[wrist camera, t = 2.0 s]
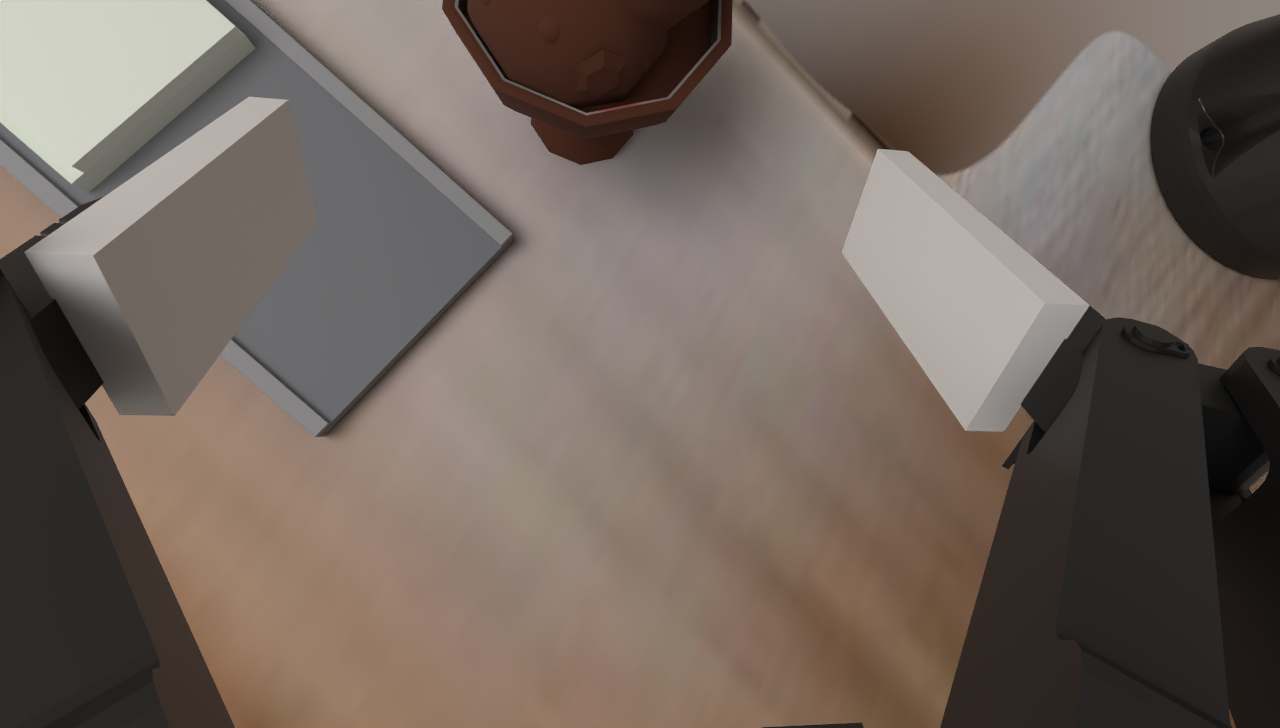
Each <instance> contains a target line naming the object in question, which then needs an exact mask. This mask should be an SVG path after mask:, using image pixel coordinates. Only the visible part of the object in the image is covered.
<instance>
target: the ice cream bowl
mask: <svg viewBox="0 0 1280 728" xmlns="http://www.w3.org/2000/svg"><path fill="white" fill-rule="evenodd" d="M442 9H443V11H444V13H445V14H446V16H447V18H448V19H449V21H450V23H451V25H452V26H453V28H454V30H455V31H456V33H457V34H458V36H459V38H460V39H461V41H462V42H463V44H464V45H465V47H466V48H467V50H468V51H469V53H470V54H471V56H472V57H473V59H474V60H475V62H476V63H477V65H478V66H479V68H480V69H481V71H482V72H483V74H484V75H485V77H486V79H487V80H488V82H489V83H490V85H491V86H492V88H493V89H494V91H495V92H496V94H497V95H498V97H499V98H500V100H501V101H502V103H503V104H504V105H505V106H507V107H509V108H511V109H513V110H514V111H517V112H519V113H521V114H524V115H526V116H529V117H531V125H532V126H533V128H534V129H535V131H536V132H537V134H538V135H539V137H540V138H541V140H542V141H543V143H544V144H545V146H546V147H547V149H548V150H549V152H551V153H554V154H556V155H559V156H561V157H563V158H566V159H568V160H571V161H573V162H575V163H578V164H580V165H581V164H586V163H591V162H595V161H600V160H605V159H610V158H613V157H614V156H615V154H616V153H617V152H618V151H619V150H620V149H621V148H622V146H623V145H624V144H625V143H626V142H627V141H628V139H629V138H630V137H631V136H632V135H633V129H638V128H643V127H648V126H653V125H656V124H660V123H663V122H666V120H667V119H668V118H669V117H670V116H671V115H672V113H673V112H674V111H675V110H676V109H677V108H678V106H679V105H680V104H681V103H682V102H683V101H684V99H685V98H686V97H687V96H688V95H689V94H690V93H691V91H692V90H693V89H694V88H695V87H696V86H697V84H698V83H699V82H700V81H701V80H702V79H703V77H704V76H705V75H706V74H707V73H708V72H709V70H710V69H711V68H712V67H713V66H714V65H715V63H716V62H717V61H718V60H719V59H720V58H721V56H722V55H723V54H724V53H725V52H726V50H727V49H728V48H729V47H730V46H731V34H732V0H443V5H442Z"/></svg>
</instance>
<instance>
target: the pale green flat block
mask: <svg viewBox="0 0 1280 728" xmlns="http://www.w3.org/2000/svg"><path fill="white" fill-rule="evenodd" d="M254 49H255V47H254V45H253V44H252V43H251V42H250V40H249V39H248V38H247V37H246V35H245V34H244V33H243V32H241V31H240V30H239V29H238V28H237V27H236V26H235V25H234V24H232V23H231V22H230V21H229V20H228V19H227V18H226V17H224V16H223V15H222V14H221V13H220V12H219V11H218V10H217V9H215V8H214V7H213V6H212V5H211V4H210V3H209V2H208V1H206V0H0V123H2V124H3V125H4V126H5V127H6V128H7V129H8V130H10V131H11V132H12V133H13V134H14V135H15V136H17V137H18V138H19V139H20V140H21V141H22V142H23V143H25V144H26V145H27V146H28V147H29V148H30V149H32V150H33V151H34V152H35V153H36V154H37V155H38V156H40V157H41V158H42V159H43V160H44V161H45V162H46V163H48V164H49V165H50V166H51V167H52V168H53V169H55V170H56V171H57V172H58V173H59V174H60V175H61V176H63V177H64V178H65V179H66V180H67V181H68V182H70V183H71V184H72V185H74V186H76V187H78V188H80V189H82V190H84V191H86V192H88V193H89V192H90V191H91V190H93V189H94V188H95V187H96V186H97V185H98V184H100V183H101V182H102V181H103V180H104V179H105V178H106V177H108V176H109V175H110V174H111V173H112V172H113V171H115V170H116V169H117V168H118V167H119V166H120V165H121V164H123V163H124V162H125V161H126V160H127V159H128V158H129V157H131V156H132V155H133V154H134V153H135V152H136V151H138V150H139V149H140V148H141V147H142V146H143V145H144V144H146V143H147V142H148V141H149V140H150V139H151V138H153V137H154V136H155V135H156V134H157V133H158V132H159V131H161V130H162V129H163V128H164V127H165V126H166V125H168V124H169V123H170V122H171V121H172V120H173V119H174V118H176V117H177V116H178V115H179V114H180V113H181V112H183V111H184V110H185V109H186V108H187V107H188V106H189V105H191V104H192V103H193V102H194V101H195V100H196V99H198V98H199V97H200V96H201V95H202V94H203V93H204V92H206V91H207V90H208V89H209V88H210V87H211V86H213V85H214V84H215V83H216V82H217V81H218V80H219V79H221V78H222V77H223V76H224V75H225V74H226V73H228V72H229V71H230V70H231V69H232V68H233V67H234V66H236V65H237V64H238V63H239V62H240V61H241V60H243V59H244V58H245V57H246V56H247V55H248V54H249V53H251V52H252V51H253V50H254Z"/></svg>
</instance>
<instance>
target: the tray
mask: <svg viewBox="0 0 1280 728" xmlns="http://www.w3.org/2000/svg"><path fill="white" fill-rule="evenodd" d="M206 1H208V2H209V3H210V4H211V5H212V6H213V7H214V8H215V9H217V10H218V11H219V12H220V13H221V14H222V15H223V16H224V17H226V18H227V19H228V20H229V21H230V22H231V23H232V24H234V25H235V26H236V27H237V28H238V29H239V30H240V31H241V32H243V33H244V34H245V35H246V37H247V38H248V39H249V40H250V42H251V43H252V44H253V45H254V47H255V49H254V50H253V51H252V52H251V53H249V54H248V55H247V56H246V57H245V58H244V59H243V60H241V61H240V62H239V63H238V64H237V65H236V66H234V67H233V68H232V69H231V70H230V71H229V72H228V73H226V74H225V75H224V76H223V77H222V78H221V79H219V80H218V81H217V82H216V83H215V84H214V85H213V86H211V87H210V88H209V89H208V90H207V91H206V92H204V93H203V94H202V95H201V96H200V97H199V98H198V99H196V100H195V101H194V102H193V103H192V104H191V105H189V106H188V107H187V108H186V109H185V110H184V111H183V112H181V113H180V114H179V115H178V116H177V117H176V118H174V119H173V120H172V121H171V122H170V123H169V124H168V125H166V126H165V127H164V128H163V129H162V130H161V131H159V132H158V133H157V134H156V135H155V136H154V137H153V138H151V139H150V140H149V141H148V142H147V143H146V144H144V145H143V146H142V147H141V148H140V149H139V150H138V151H136V152H135V153H134V154H133V155H132V156H131V157H129V158H128V159H127V160H126V161H125V162H124V163H123V164H121V165H120V166H119V167H118V168H117V169H116V170H115V171H113V172H112V173H111V174H110V175H109V176H108V177H106V178H105V179H104V180H103V181H102V182H101V183H100V184H98V185H97V186H96V187H95V188H94V189H93V190H91V191H90V192H89V193H88V192H86V191H84V190H82V189H80V188H78V187H76V186H74V185H72V184H71V183H70V182H68V181H67V180H66V179H65V178H64V177H63V176H61V175H60V174H59V173H58V172H57V171H56V170H55V169H53V168H52V167H51V166H50V165H49V164H48V163H46V162H45V161H44V160H43V159H42V158H41V157H40V156H38V155H37V154H36V153H35V152H34V151H33V150H32V149H30V148H29V147H28V146H27V145H26V144H25V143H23V142H22V141H21V140H20V139H19V138H18V137H17V136H15V135H14V134H13V133H12V132H11V131H10V130H8V129H7V128H6V127H5V126H4V125H3V124H2V123H0V165H1V166H2V167H3V168H4V169H6V170H7V171H8V172H9V173H10V174H11V175H12V176H14V177H15V178H16V179H17V180H18V181H19V182H21V183H22V184H23V185H24V186H25V187H26V188H27V189H29V190H30V191H31V192H32V193H33V194H34V195H36V196H37V197H38V198H39V199H40V200H41V201H43V202H44V203H45V204H46V205H47V206H48V207H49V208H51V209H52V210H53V211H54V212H55V213H56V214H58V215H59V216H60V217H61V218H62V217H64V216H65V215H67V214H68V213H70V212H71V211H73V210H74V209H76V208H77V207H79V206H80V205H82V204H85V203H88V202H90V201H93V200H96V199H98V198H101V197H104V196H106V195H107V194H109V193H110V192H112V191H113V190H115V189H116V188H118V187H119V186H120V185H122V184H123V183H125V182H126V181H128V180H129V179H131V178H132V177H133V176H135V175H136V174H138V173H139V172H141V171H142V170H144V169H145V168H146V167H148V166H149V165H151V164H152V163H154V162H155V161H157V160H158V159H159V158H161V157H162V156H164V155H165V154H167V153H168V152H170V151H171V150H173V149H174V148H175V147H177V146H178V145H180V144H181V143H183V142H184V141H186V140H187V139H188V138H190V137H191V136H193V135H194V134H196V133H197V132H199V131H200V130H201V129H203V128H204V127H206V126H207V125H209V124H210V123H212V122H213V121H214V120H216V119H217V118H219V117H220V116H222V115H223V114H225V113H226V112H228V111H229V110H230V109H232V108H233V107H235V106H236V105H238V104H239V103H241V102H242V101H243V100H245V99H246V98H248V97H260V98H272V99H284V100H289V104H290V108H291V113H292V117H293V121H294V125H295V129H296V133H297V137H298V142H299V146H300V150H301V154H302V158H303V162H304V166H305V170H306V175H307V179H308V183H309V187H310V191H311V195H312V199H313V204H314V208H315V212H316V216H317V220H318V222H317V223H316V225H315V226H314V227H313V229H312V230H311V231H310V233H309V234H308V235H307V237H306V238H305V240H304V241H303V242H302V244H301V245H300V246H299V248H298V249H297V250H296V252H295V253H294V254H293V256H292V257H291V259H290V260H289V261H288V263H287V264H286V265H285V267H284V268H283V269H282V271H281V272H280V273H279V275H278V276H277V278H276V279H275V280H274V282H273V283H272V284H271V286H270V287H269V288H268V290H267V291H266V292H265V294H264V295H263V297H262V298H261V299H260V301H259V302H258V303H257V305H256V306H255V307H254V309H253V310H252V311H251V313H250V314H249V316H248V317H247V318H246V320H245V321H244V322H243V324H242V325H241V326H240V328H239V329H238V330H237V332H236V333H235V335H234V336H233V337H232V339H231V340H230V341H229V343H228V344H227V345H226V347H225V348H224V349H223V351H222V352H221V354H220V355H221V356H222V357H223V358H224V359H225V360H226V361H228V362H229V363H230V364H231V365H232V366H233V367H235V368H236V369H237V370H238V371H239V372H240V373H241V374H243V375H244V376H245V377H246V378H247V379H248V380H250V381H251V382H252V383H253V384H254V385H255V386H257V387H258V388H259V389H260V390H261V391H262V392H263V393H265V394H266V395H267V396H268V397H269V398H270V399H272V400H273V401H274V402H275V403H276V404H277V405H279V406H280V407H281V408H282V409H283V410H284V411H285V412H287V413H288V414H289V415H290V416H291V417H292V418H294V419H295V420H296V421H297V422H298V423H299V424H300V425H302V426H303V427H304V428H305V429H306V430H307V431H309V432H310V433H311V434H312V435H313V436H314V437H322V436H325V435H326V434H327V433H328V432H329V431H330V430H331V429H332V428H333V427H334V426H335V425H336V424H337V422H338V421H339V420H340V419H341V418H342V417H343V416H344V415H345V414H346V413H347V412H348V411H349V410H350V409H351V408H352V407H353V406H354V405H355V404H356V403H357V402H358V401H359V400H360V399H361V398H362V397H363V396H364V395H365V394H366V393H367V392H368V390H369V389H370V388H371V387H372V386H373V385H374V384H375V383H376V382H377V381H378V380H379V379H380V378H381V377H382V376H383V375H384V374H385V373H386V372H387V371H388V370H389V369H390V368H391V367H392V366H393V365H394V364H395V363H396V362H397V361H398V360H399V358H400V357H401V356H402V355H403V354H404V353H405V352H406V351H407V350H408V349H409V348H410V347H411V346H412V345H413V344H414V343H415V342H416V341H417V340H418V339H419V338H420V337H421V336H422V335H423V334H424V333H425V332H426V331H427V330H428V329H429V328H430V327H431V325H432V324H433V323H434V322H435V321H436V320H437V319H438V318H439V317H440V316H441V315H442V314H443V313H444V312H445V311H446V310H447V309H448V308H449V307H450V306H451V305H452V304H453V303H454V302H455V301H456V300H457V299H458V298H459V297H460V296H461V295H462V293H463V292H464V291H465V290H466V289H467V288H468V287H469V286H470V285H471V284H472V283H473V282H474V281H475V280H476V279H477V278H478V277H479V276H480V275H481V274H482V273H483V272H484V271H485V270H486V269H487V268H488V267H489V266H490V265H491V264H492V263H493V262H494V260H495V259H496V258H497V257H498V256H499V255H500V254H501V253H502V252H503V251H504V250H505V249H506V248H507V247H508V246H509V245H510V244H511V243H512V242H513V241H514V239H513V234H512V233H511V232H510V231H509V230H508V229H507V228H506V227H504V226H503V225H502V224H501V223H500V222H499V221H498V220H497V219H495V218H494V217H493V216H492V215H491V214H490V213H489V212H488V211H486V210H485V209H484V208H483V207H482V206H481V205H480V204H479V203H477V202H476V201H475V200H474V199H473V198H472V197H471V196H470V195H468V194H467V193H466V192H465V191H464V190H463V189H462V188H461V187H459V186H458V185H457V184H456V183H455V182H454V181H453V180H452V179H450V178H449V177H448V176H447V175H446V174H445V173H444V172H443V171H441V170H440V169H439V168H438V167H437V166H436V165H435V164H434V163H432V162H431V161H430V160H429V159H428V158H427V157H426V156H425V155H423V154H422V153H421V152H420V151H419V150H418V149H417V148H416V147H414V146H413V145H412V144H411V143H410V142H409V141H408V140H407V139H405V138H404V137H403V136H402V135H401V134H400V133H399V132H398V131H396V130H395V129H394V128H393V127H392V126H391V125H390V124H389V123H387V122H386V121H385V120H384V119H383V118H382V117H381V116H380V115H378V114H377V113H376V112H375V111H374V110H373V109H372V108H371V107H369V106H368V105H367V104H366V103H365V102H364V101H363V100H362V99H360V98H359V97H358V96H357V95H356V94H355V93H354V92H353V91H351V90H350V89H349V88H348V87H347V86H346V85H345V84H344V83H342V82H341V81H340V80H339V79H338V78H337V77H336V76H335V75H333V74H332V73H331V72H330V71H329V70H328V69H327V68H326V67H324V66H323V65H322V64H321V63H320V62H319V61H318V60H317V59H315V58H314V57H313V56H312V55H311V54H310V53H309V52H308V51H306V50H305V49H304V48H303V47H302V46H301V45H300V44H299V43H297V42H296V41H295V40H294V39H293V38H292V37H291V36H290V35H288V34H287V33H286V32H285V31H284V30H283V29H282V28H281V27H279V26H278V25H277V24H276V23H275V22H274V21H273V20H272V19H270V18H269V17H268V16H267V15H266V14H265V13H264V12H263V11H261V10H260V9H259V8H258V7H257V6H256V5H255V4H254V3H252V2H251V1H250V0H206Z"/></svg>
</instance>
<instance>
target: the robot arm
mask: <svg viewBox="0 0 1280 728" xmlns="http://www.w3.org/2000/svg"><path fill="white" fill-rule="evenodd" d="M1151 150H1152V158H1153V164H1154V169H1155V173H1156V177H1157V180H1158V183H1159V186H1160V189H1161V191H1162V193H1163V196H1164V198H1165V200H1166V202H1167V204H1168V206H1169V208H1170V210H1171V211H1172V213H1173V215H1174V216H1175V218H1176V219H1177V221H1178V222H1179V224H1180V225H1181V226H1182V228H1183V229H1184V230H1185V231H1186V233H1187V234H1188V235H1189V236H1190V237H1191V238H1192V239H1193V240H1194V241H1195V242H1196V243H1197V244H1198V245H1199V246H1200V247H1201V248H1202V249H1203V250H1204V251H1206V252H1207V253H1208V254H1210V255H1211V256H1212V257H1213V258H1215V259H1217V260H1218V261H1220V262H1221V263H1223V264H1225V265H1226V266H1228V267H1230V268H1232V269H1235V270H1237V271H1239V272H1242V273H1245V274H1248V275H1251V276H1255V277H1260V278H1267V279H1280V14H1279V15H1276V16H1273V17H1269V18H1266V19H1263V20H1259V21H1256V22H1253V23H1250V24H1247V25H1245V26H1242V27H1240V28H1238V29H1235V30H1233V31H1231V32H1229V33H1228V34H1226V35H1224V36H1222V37H1221V38H1219V39H1217V40H1216V41H1214V42H1212V43H1210V44H1209V45H1207V46H1205V47H1204V48H1202V49H1200V50H1198V51H1197V52H1195V53H1193V54H1192V55H1190V56H1189V57H1188V58H1186V59H1185V60H1184V61H1183V62H1182V63H1181V64H1179V66H1178V67H1176V69H1175V70H1174V71H1173V72H1172V73H1171V75H1170V76H1169V78H1168V79H1167V81H1166V82H1165V84H1164V86H1163V88H1162V90H1161V92H1160V94H1159V97H1158V99H1157V102H1156V105H1155V109H1154V113H1153V118H1152V126H1151ZM317 222H318V220H317V216H316V212H315V208H314V204H313V199H312V195H311V191H310V187H309V183H308V179H307V175H306V170H305V166H304V162H303V158H302V154H301V150H300V146H299V142H298V137H297V133H296V129H295V125H294V121H293V117H292V113H291V108H290V104H289V100H284V99H272V98H260V97H248V98H246V99H245V100H243V101H242V102H241V103H239V104H238V105H236V106H235V107H233V108H232V109H230V110H229V111H228V112H226V113H225V114H223V115H222V116H220V117H219V118H217V119H216V120H214V121H213V122H212V123H210V124H209V125H207V126H206V127H204V128H203V129H201V130H200V131H199V132H197V133H196V134H194V135H193V136H191V137H190V138H188V139H187V140H186V141H184V142H183V143H181V144H180V145H178V146H177V147H175V148H174V149H173V150H171V151H170V152H168V153H167V154H165V155H164V156H162V157H161V158H159V159H158V160H157V161H155V162H154V163H152V164H151V165H149V166H148V167H146V168H145V169H144V170H142V171H141V172H139V173H138V174H136V175H135V176H133V177H132V178H131V179H129V180H128V181H126V182H125V183H123V184H122V185H120V186H119V187H118V188H116V189H115V190H113V191H112V192H110V193H109V194H107V195H106V196H104V197H101V198H98V199H96V200H93V201H90V202H88V203H85V204H82V205H80V206H79V207H77V208H76V209H74V210H73V211H71V212H70V213H68V214H67V215H65V216H64V217H62V218H61V219H59V223H54V224H52V225H51V226H49V227H48V228H46V229H45V230H43V231H42V232H40V233H41V236H34V237H33V238H31V239H30V240H28V241H27V242H25V243H24V244H22V245H21V246H19V247H18V248H17V249H15V250H14V251H12V252H11V253H9V254H8V255H6V256H5V257H3V258H2V259H0V728H235V727H234V725H233V722H232V720H231V718H230V716H229V714H228V711H227V709H226V707H225V705H224V703H223V700H222V698H221V696H220V694H219V692H218V689H217V687H216V685H215V683H214V681H213V678H212V676H211V674H210V672H209V670H208V667H207V665H206V663H205V661H204V658H203V656H202V654H201V652H200V650H199V647H198V645H197V643H196V641H195V639H194V636H193V634H192V632H191V630H190V628H189V625H188V623H187V621H186V619H185V617H184V614H183V612H182V610H181V608H180V606H179V603H178V601H177V599H176V597H175V595H174V592H173V590H172V588H171V586H170V583H169V581H168V579H167V577H166V575H165V572H164V570H163V568H162V566H161V564H160V561H159V559H158V557H157V555H156V553H155V550H154V548H153V546H152V544H151V542H150V539H149V537H148V535H147V533H146V531H145V528H144V526H143V524H142V522H141V520H140V517H139V515H138V513H137V511H136V508H135V506H134V504H133V502H132V500H131V497H130V495H129V493H128V491H127V489H126V486H125V484H124V482H123V480H122V478H121V475H120V473H119V471H118V469H117V467H116V464H115V462H114V460H113V458H112V456H111V453H110V451H109V449H108V447H107V445H106V442H105V440H104V438H103V436H102V433H101V431H100V429H99V427H98V425H97V422H96V420H95V419H94V417H93V416H92V414H91V412H90V411H89V409H88V408H87V406H86V405H85V402H86V401H87V400H88V399H89V398H90V397H91V396H92V395H93V394H94V393H95V392H96V390H97V389H98V388H99V387H100V386H101V385H102V386H103V387H104V389H105V391H106V392H107V394H108V396H109V398H110V399H111V401H112V403H113V404H114V406H115V408H116V409H117V411H118V413H119V415H166V416H175V415H176V413H177V412H178V411H179V409H180V408H181V406H182V405H183V404H184V402H185V401H186V400H187V398H188V397H189V396H190V394H191V393H192V392H193V390H194V389H195V387H196V386H197V385H198V383H199V382H200V381H201V379H202V378H203V377H204V375H205V374H206V373H207V371H208V370H209V368H210V367H211V366H212V364H213V363H214V362H215V360H216V359H217V358H218V356H219V355H220V354H221V352H222V351H223V349H224V348H225V347H226V345H227V344H228V343H229V341H230V340H231V339H232V337H233V336H234V335H235V333H236V332H237V330H238V329H239V328H240V326H241V325H242V324H243V322H244V321H245V320H246V318H247V317H248V316H249V314H250V313H251V311H252V310H253V309H254V307H255V306H256V305H257V303H258V302H259V301H260V299H261V298H262V297H263V295H264V294H265V292H266V291H267V290H268V288H269V287H270V286H271V284H272V283H273V282H274V280H275V279H276V278H277V276H278V275H279V273H280V272H281V271H282V269H283V268H284V267H285V265H286V264H287V263H288V261H289V260H290V259H291V257H292V256H293V254H294V253H295V252H296V250H297V249H298V248H299V246H300V245H301V244H302V242H303V241H304V240H305V238H306V237H307V235H308V234H309V233H310V231H311V230H312V229H313V227H314V226H315V225H316V223H317ZM842 254H843V255H844V257H845V258H846V259H847V261H848V262H849V264H850V265H851V267H852V268H853V270H854V271H855V272H856V274H857V275H858V277H859V278H860V280H861V281H862V283H863V284H864V285H865V287H866V288H867V290H868V291H869V293H870V294H871V295H872V297H873V298H874V300H875V301H876V303H877V304H878V306H879V307H880V308H881V310H882V311H883V313H884V314H885V316H886V317H887V319H888V320H889V321H890V323H891V324H892V326H893V327H894V329H895V330H896V331H897V333H898V334H899V336H900V337H901V339H902V340H903V342H904V343H905V344H906V346H907V347H908V349H909V350H910V352H911V353H912V355H913V356H914V357H915V359H916V360H917V362H918V363H919V365H920V366H921V367H922V369H923V370H924V372H925V373H926V375H927V376H928V378H929V379H930V380H931V382H932V383H933V385H934V386H935V388H936V389H937V391H938V392H939V393H940V395H941V396H942V398H943V399H944V401H945V402H946V403H947V405H948V406H949V408H950V409H951V411H952V412H953V414H954V415H955V416H956V418H957V419H958V421H959V422H960V424H961V425H962V427H963V428H964V429H965V431H998V432H1004V431H1005V430H1006V428H1007V427H1008V425H1009V424H1010V422H1011V421H1012V419H1013V418H1014V416H1015V415H1016V413H1017V412H1018V410H1019V409H1020V407H1021V406H1023V408H1024V409H1025V410H1026V411H1027V412H1028V414H1029V415H1030V416H1031V417H1032V418H1033V420H1034V422H1033V423H1032V425H1031V426H1030V427H1029V429H1028V430H1027V432H1026V433H1025V435H1024V436H1023V437H1022V439H1021V440H1020V442H1019V443H1018V444H1017V446H1016V447H1015V449H1014V450H1013V451H1012V453H1011V454H1010V456H1009V457H1008V458H1007V460H1006V461H1005V463H1004V464H1003V465H1002V466H1003V467H1005V468H1007V469H1009V468H1010V467H1011V466H1012V465H1013V464H1015V466H1014V469H1013V473H1012V476H1011V480H1010V483H1009V487H1008V490H1007V494H1006V497H1005V501H1004V505H1003V508H1002V512H1001V515H1000V519H999V522H998V526H997V529H996V533H995V536H994V540H993V543H992V547H991V550H990V554H989V557H988V561H987V564H986V568H985V572H984V575H983V579H982V582H981V586H980V589H979V593H978V596H977V600H976V603H975V607H974V610H973V614H972V617H971V621H970V624H969V628H968V631H967V635H966V639H965V642H964V646H963V649H962V653H961V656H960V660H959V663H958V667H957V670H956V674H955V677H954V681H953V684H952V688H951V691H950V695H949V698H948V702H947V706H946V709H945V713H944V716H943V720H942V723H941V727H940V728H1232V727H1231V723H1230V717H1229V709H1230V712H1231V714H1232V717H1233V720H1234V723H1235V725H1236V728H1280V351H1279V350H1274V349H1269V348H1263V347H1252V348H1248V349H1247V350H1246V351H1244V352H1243V353H1242V355H1241V356H1240V357H1239V358H1238V359H1237V360H1236V361H1235V362H1234V363H1233V364H1232V365H1231V367H1230V368H1229V369H1228V370H1225V369H1220V368H1216V367H1212V366H1207V365H1203V364H1198V361H1197V357H1196V355H1195V353H1194V351H1193V350H1192V349H1191V348H1190V347H1189V345H1188V344H1186V343H1184V342H1183V341H1182V340H1180V339H1179V338H1177V337H1175V336H1174V335H1172V334H1170V333H1169V332H1168V331H1166V330H1164V329H1162V328H1160V327H1158V326H1155V325H1151V324H1148V323H1144V322H1140V321H1137V320H1133V319H1126V318H1112V319H1107V320H1106V319H1105V318H1104V317H1103V316H1101V315H1100V314H1099V313H1098V312H1097V311H1095V310H1094V309H1093V308H1092V307H1091V306H1090V305H1089V304H1088V303H1086V302H1085V301H1084V300H1083V299H1082V298H1080V297H1079V296H1078V295H1077V294H1076V293H1075V292H1073V291H1072V290H1071V289H1070V288H1069V287H1067V286H1066V285H1065V284H1064V283H1063V282H1062V281H1060V280H1059V279H1058V278H1057V277H1056V276H1055V275H1053V274H1052V273H1051V272H1050V271H1049V270H1047V269H1046V268H1045V267H1044V266H1043V265H1042V264H1040V263H1039V262H1038V261H1037V260H1036V259H1034V258H1033V257H1032V256H1031V255H1030V254H1029V253H1027V252H1026V251H1025V250H1024V249H1023V248H1021V247H1020V246H1019V245H1018V244H1017V243H1016V242H1014V241H1013V240H1012V239H1011V238H1010V237H1008V236H1007V235H1006V234H1005V233H1004V232H1003V231H1001V230H1000V229H999V228H998V227H997V226H995V225H994V224H993V223H992V222H991V221H990V220H988V219H987V218H986V217H985V216H984V215H982V214H981V213H980V212H979V211H978V210H977V209H975V208H974V207H973V206H972V205H971V204H969V203H968V202H967V201H966V200H965V199H964V198H962V197H961V196H960V195H959V194H958V193H957V192H955V191H954V190H953V189H952V188H951V187H949V186H948V185H947V184H946V183H945V182H944V181H942V180H941V179H940V178H939V177H938V176H936V175H935V174H934V173H933V172H932V171H931V170H929V169H928V168H927V167H926V166H925V165H923V164H922V163H921V162H920V161H919V160H917V159H916V158H915V157H914V156H913V155H912V154H910V153H909V152H908V151H897V150H885V149H878V150H877V153H876V156H875V159H874V162H873V164H872V167H871V170H870V173H869V176H868V179H867V181H866V184H865V187H864V190H863V193H862V196H861V199H860V201H859V204H858V207H857V210H856V213H855V216H854V218H853V221H852V224H851V227H850V230H849V233H848V236H847V238H846V241H845V244H844V247H843V250H842ZM1268 470H1269V473H1268V475H1267V477H1266V480H1265V481H1264V482H1263V484H1262V485H1261V486H1260V487H1259V488H1258V489H1257V490H1256V491H1255V492H1254V493H1251V491H1250V489H1249V487H1250V486H1251V485H1253V484H1254V483H1255V482H1256V481H1257V480H1258V479H1259V478H1260V477H1262V476H1263V475H1264V474H1265V473H1266V472H1267V471H1268ZM763 728H863V725H862V723H847V724H826V725H805V726H784V727H763Z"/></svg>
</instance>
